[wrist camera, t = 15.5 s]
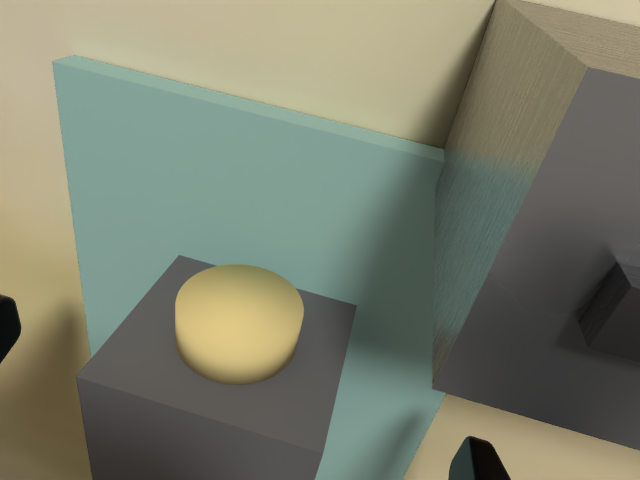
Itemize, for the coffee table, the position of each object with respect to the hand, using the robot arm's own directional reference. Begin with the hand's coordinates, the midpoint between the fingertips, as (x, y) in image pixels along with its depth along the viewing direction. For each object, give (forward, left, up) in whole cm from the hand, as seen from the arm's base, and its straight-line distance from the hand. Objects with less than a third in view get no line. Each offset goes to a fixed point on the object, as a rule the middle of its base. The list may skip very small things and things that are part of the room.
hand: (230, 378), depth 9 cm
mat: (-3, 0, -3) cm, 4 cm away
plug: (-3, 0, -2) cm, 3 cm away
